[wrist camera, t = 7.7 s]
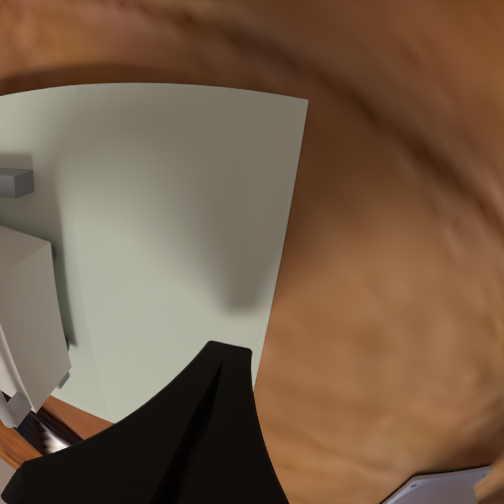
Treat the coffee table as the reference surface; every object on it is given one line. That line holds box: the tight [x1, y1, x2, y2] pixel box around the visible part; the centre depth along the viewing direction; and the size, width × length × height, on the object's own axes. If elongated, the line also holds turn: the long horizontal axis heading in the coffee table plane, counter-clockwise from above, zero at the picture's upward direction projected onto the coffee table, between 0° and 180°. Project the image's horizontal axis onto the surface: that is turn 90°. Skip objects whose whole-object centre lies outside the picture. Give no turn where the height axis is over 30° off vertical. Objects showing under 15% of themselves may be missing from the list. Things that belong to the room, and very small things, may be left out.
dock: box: [0, 83, 309, 423], centre depth 12 cm, size 16×17×5 cm
